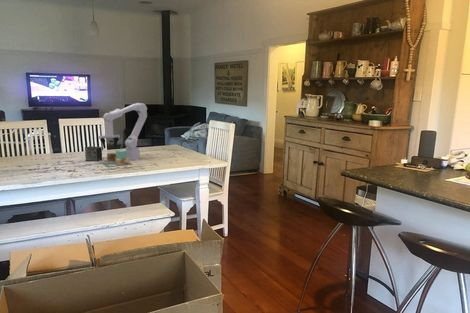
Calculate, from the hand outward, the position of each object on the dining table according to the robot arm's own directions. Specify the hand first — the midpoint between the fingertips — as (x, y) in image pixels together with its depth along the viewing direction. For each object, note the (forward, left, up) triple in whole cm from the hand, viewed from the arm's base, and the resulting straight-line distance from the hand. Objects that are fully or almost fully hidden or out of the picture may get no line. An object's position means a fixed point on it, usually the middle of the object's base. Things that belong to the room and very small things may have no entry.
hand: (109, 148), depth 261 cm
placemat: (-1, +13, -10) cm, 17 cm away
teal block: (-4, +14, -6) cm, 15 cm away
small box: (+9, -10, -11) cm, 17 cm away
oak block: (-4, +14, -10) cm, 17 cm away
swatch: (+4, +17, -10) cm, 20 cm away
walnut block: (-2, -2, -10) cm, 11 cm away
